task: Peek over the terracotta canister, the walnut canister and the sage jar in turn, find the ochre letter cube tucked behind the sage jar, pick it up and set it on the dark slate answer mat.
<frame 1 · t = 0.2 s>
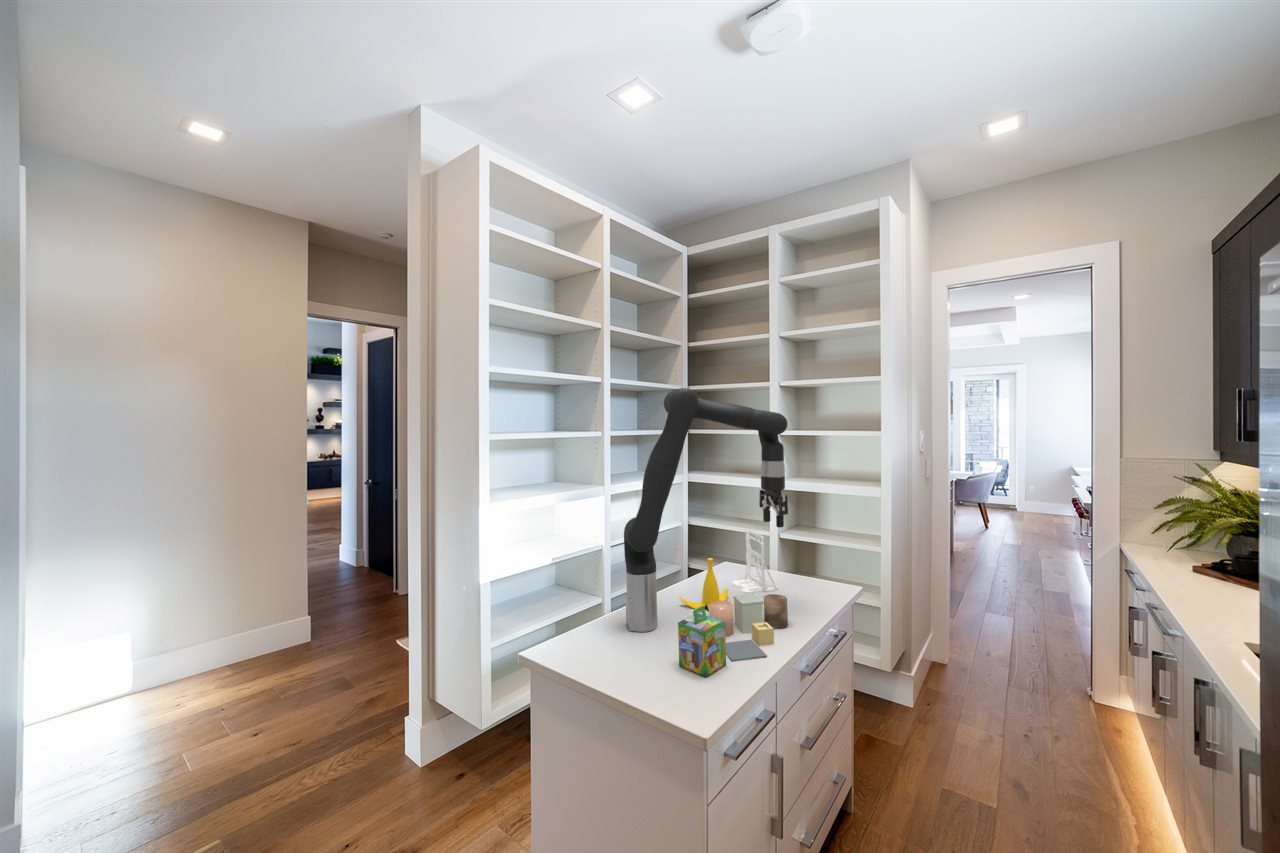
hand: (773, 524, 167), 29 cm above the table, fingers open, 8 cm apart
film strip holder: (753, 586, 193), on the table
canister a: (721, 631, 154), on the table
banana peel: (714, 610, 171), on the table
canister c: (775, 624, 158), on the table
chalk box: (702, 666, 133), on the table
answer mat: (742, 650, 141), on the table
letter cube: (762, 641, 147), on the table
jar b: (748, 627, 156), on the table
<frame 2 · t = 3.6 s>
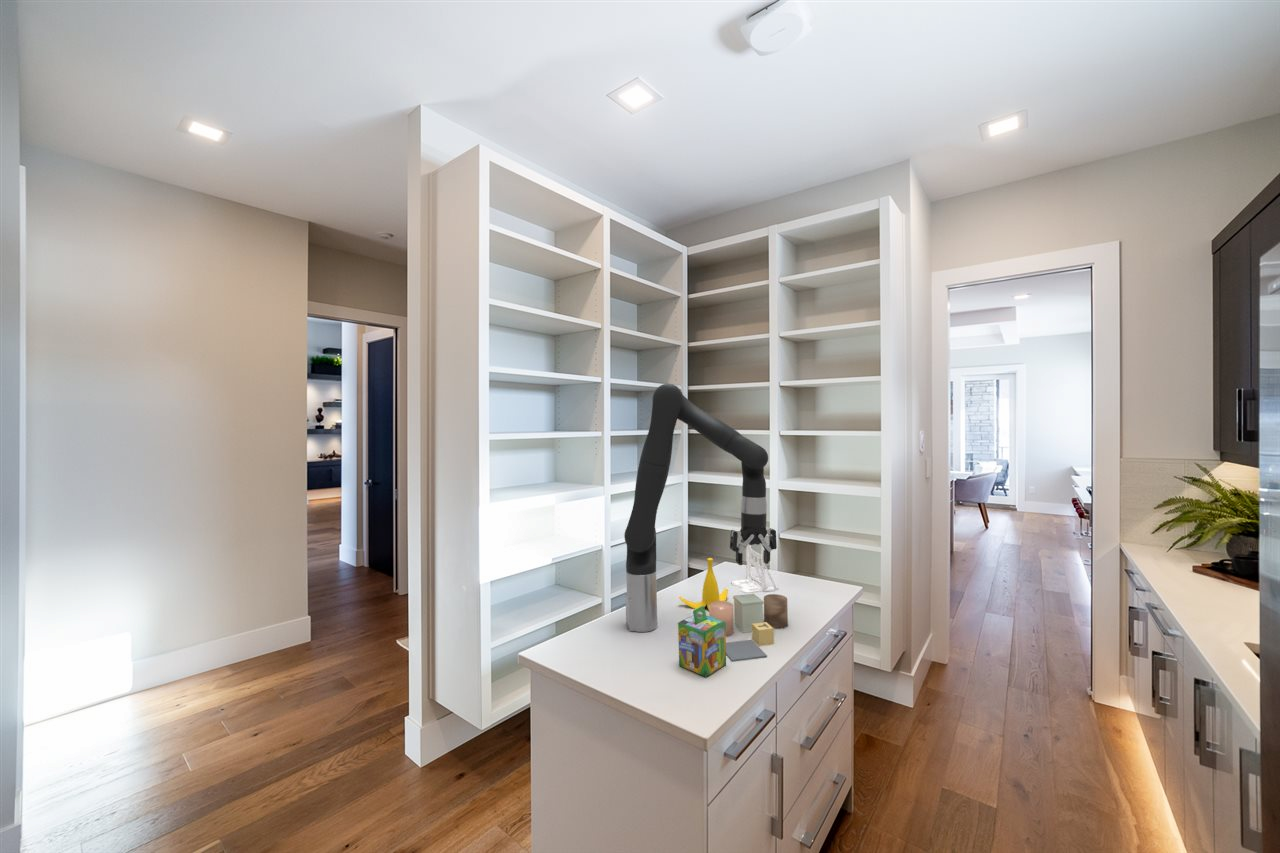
hand: (753, 563, 157), 19 cm above the table, fingers open, 8 cm apart
nothing on the table moved.
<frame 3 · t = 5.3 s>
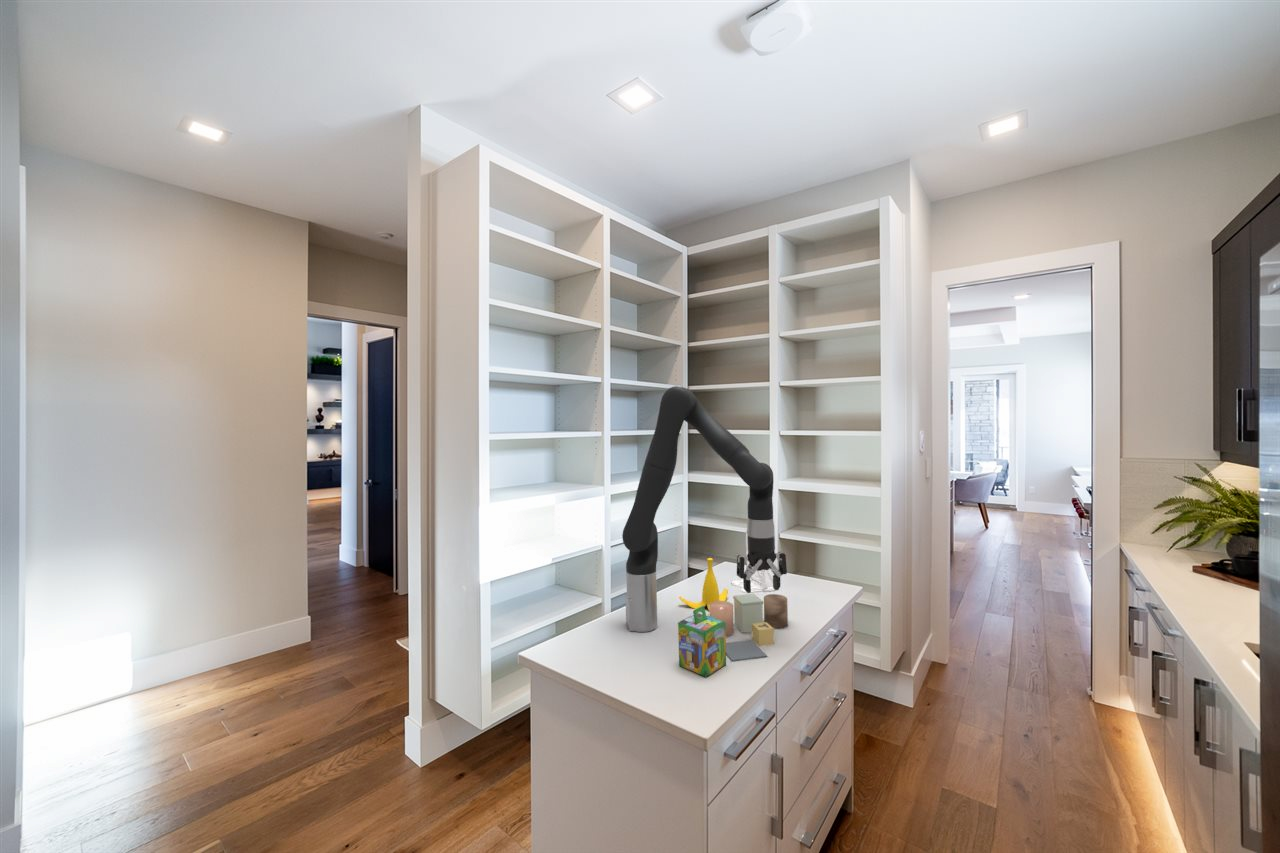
hand: (762, 590, 146), 15 cm above the table, fingers open, 8 cm apart
nothing on the table moved.
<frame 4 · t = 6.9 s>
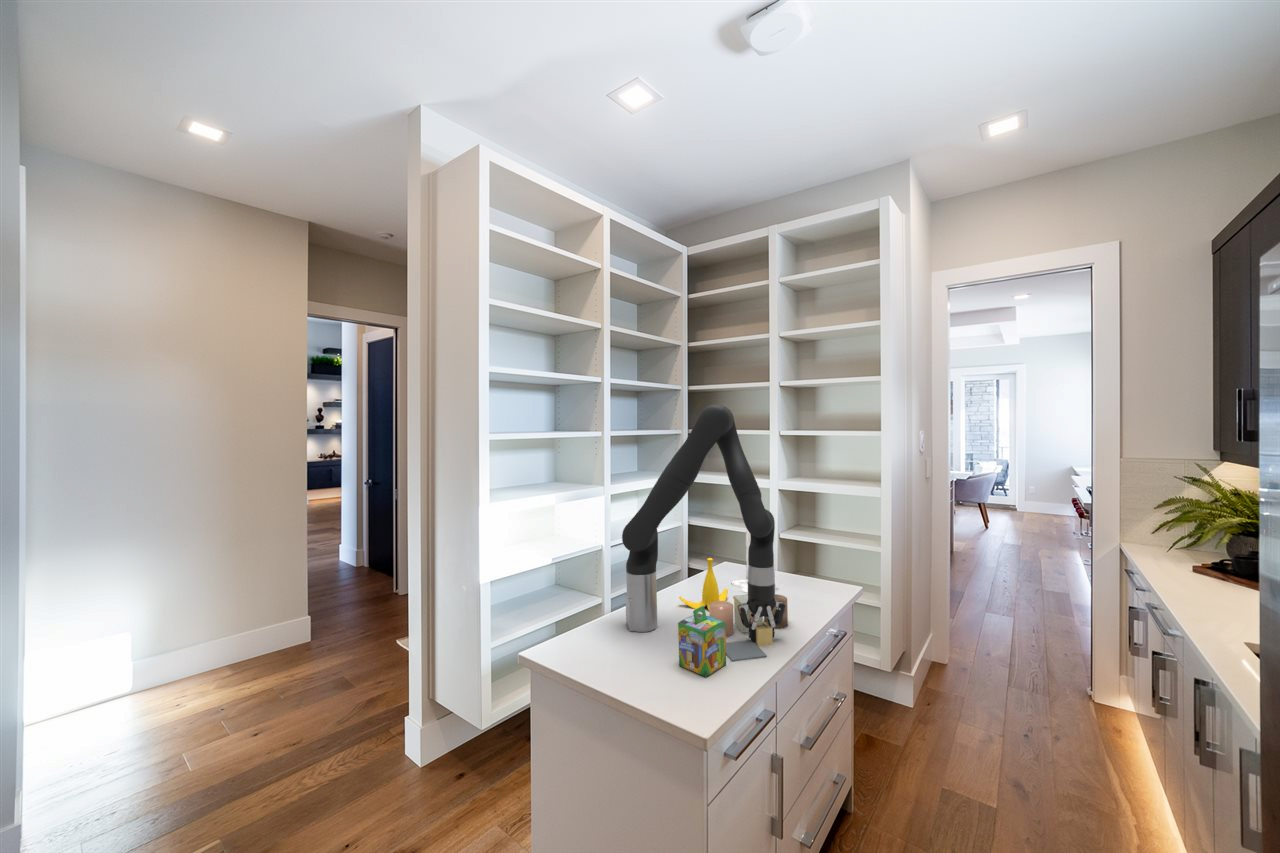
hand: (761, 639, 146), 0 cm above the table, fingers closed on letter cube, 4 cm apart
letter cube: (761, 641, 146), on the table, touching gripper
everything else where it was.
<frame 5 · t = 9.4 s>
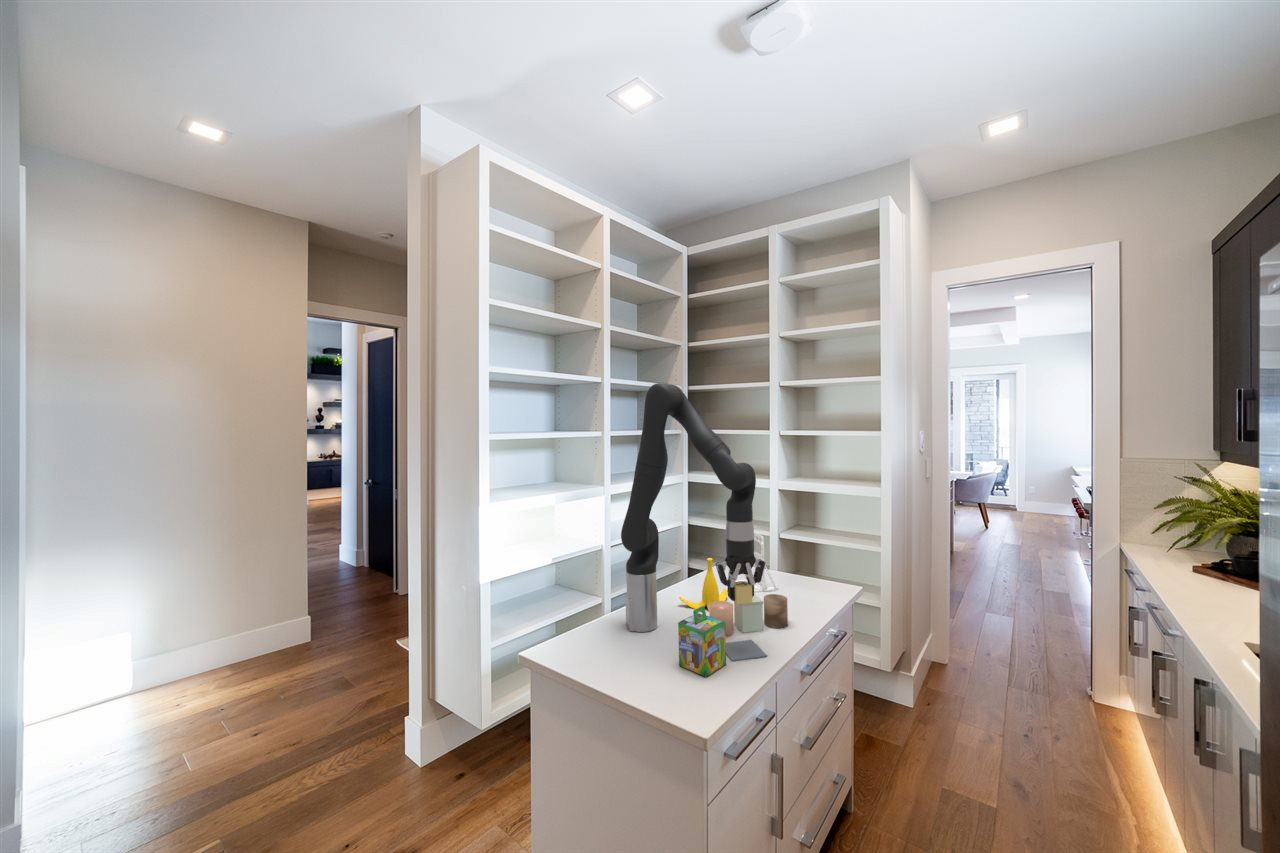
hand: (741, 598, 141), 14 cm above the table, fingers closed on letter cube, 4 cm apart
letter cube: (741, 600, 141), point 14 cm above the table, touching gripper
everything else where it was.
when the fingers open (2 cm above the table, at t = 11.9 s): letter cube drops 1 cm, resting on answer mat.
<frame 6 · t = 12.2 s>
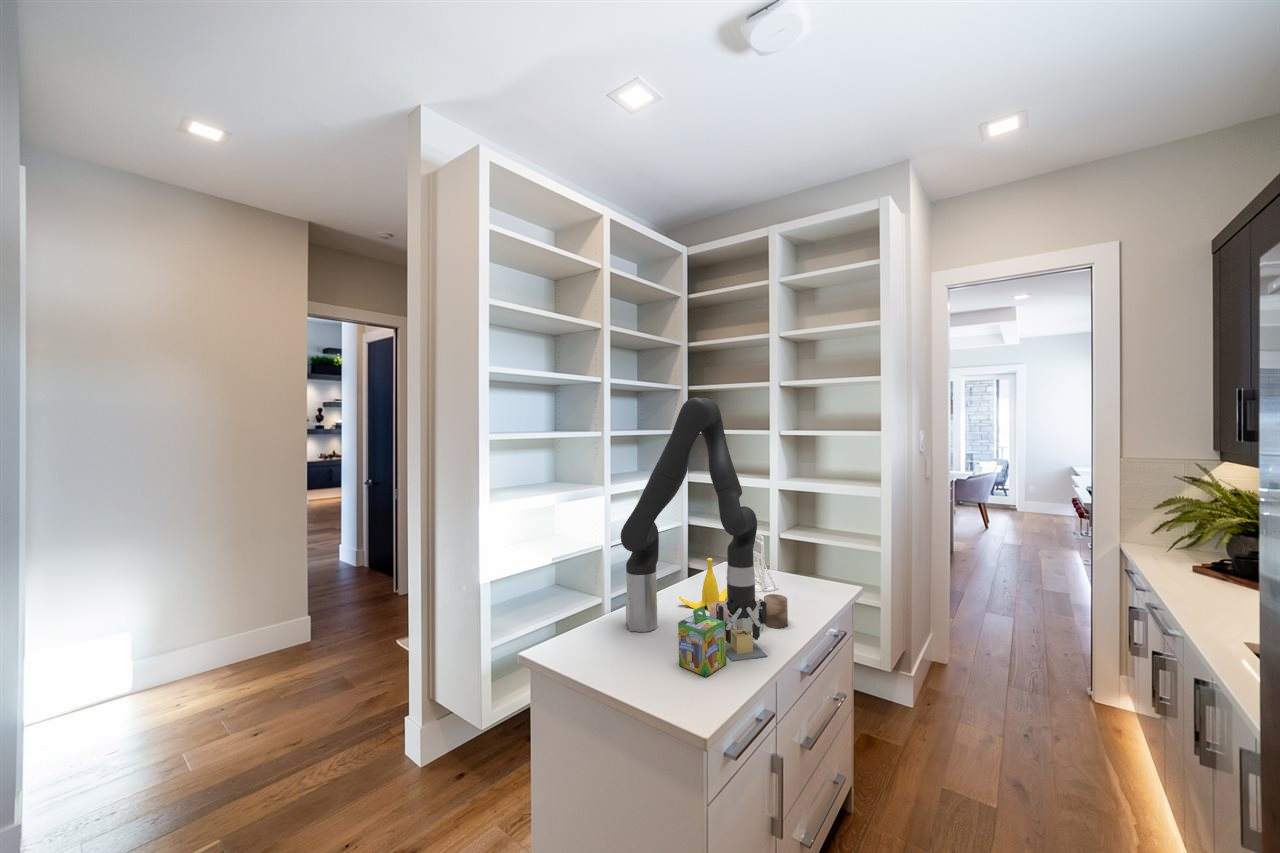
hand: (741, 640, 141), 3 cm above the table, fingers open, 7 cm apart
letter cube: (741, 649, 141), resting on answer mat
everything else where it was.
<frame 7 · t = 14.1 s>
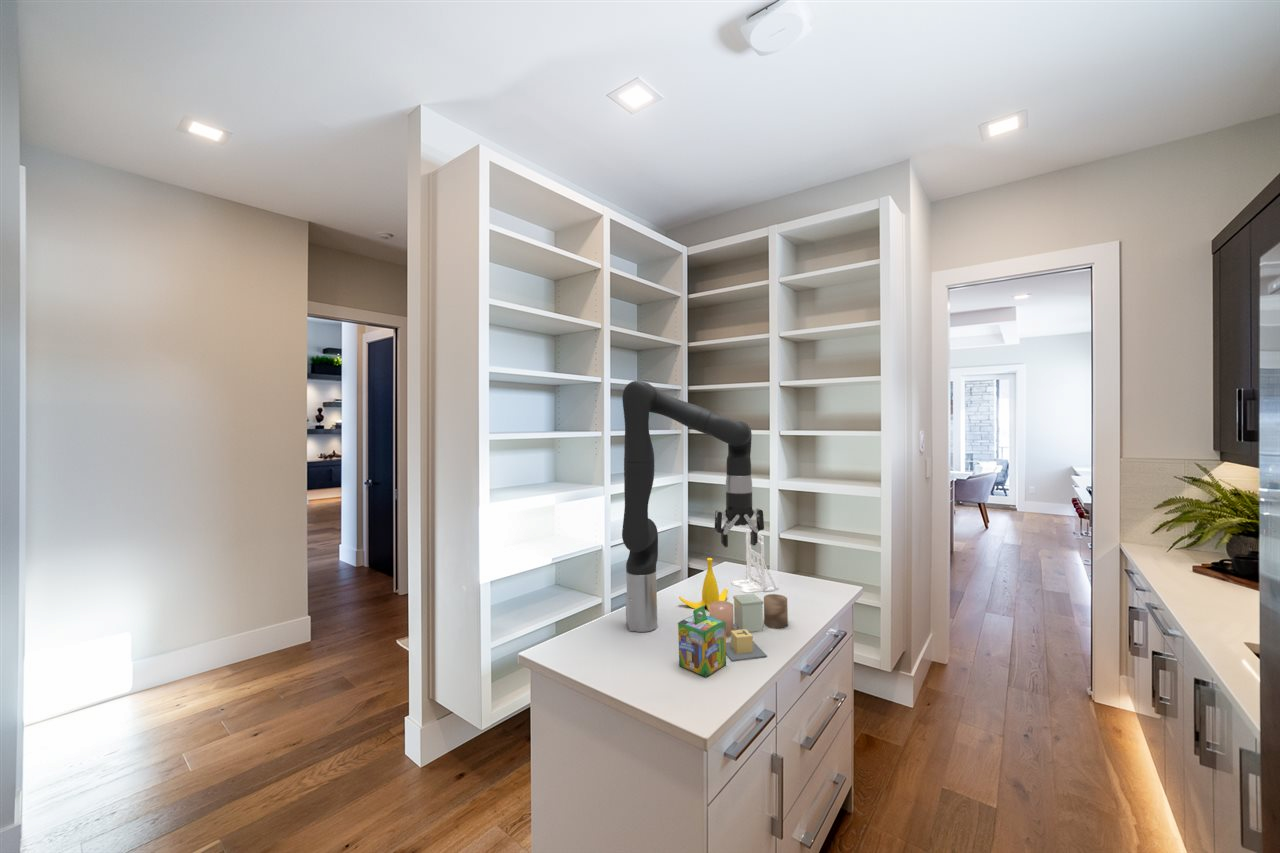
hand: (739, 545, 150), 26 cm above the table, fingers open, 8 cm apart
nothing on the table moved.
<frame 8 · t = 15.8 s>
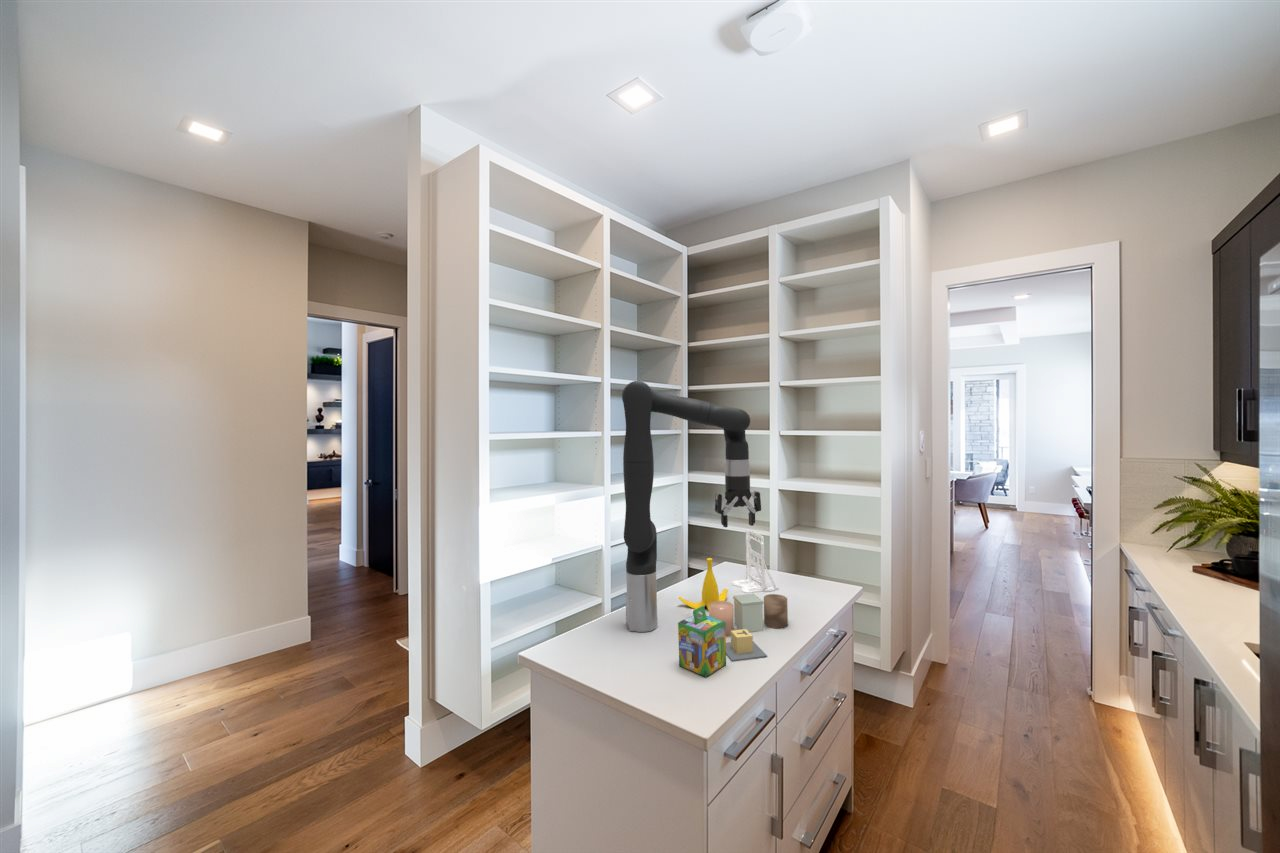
hand: (738, 526, 159), 30 cm above the table, fingers open, 8 cm apart
nothing on the table moved.
at the end: letter cube inside the target area on the answer mat (0.1 cm from its centre), point 0.4 cm above the answer mat's base; the gripper is holding nothing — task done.
